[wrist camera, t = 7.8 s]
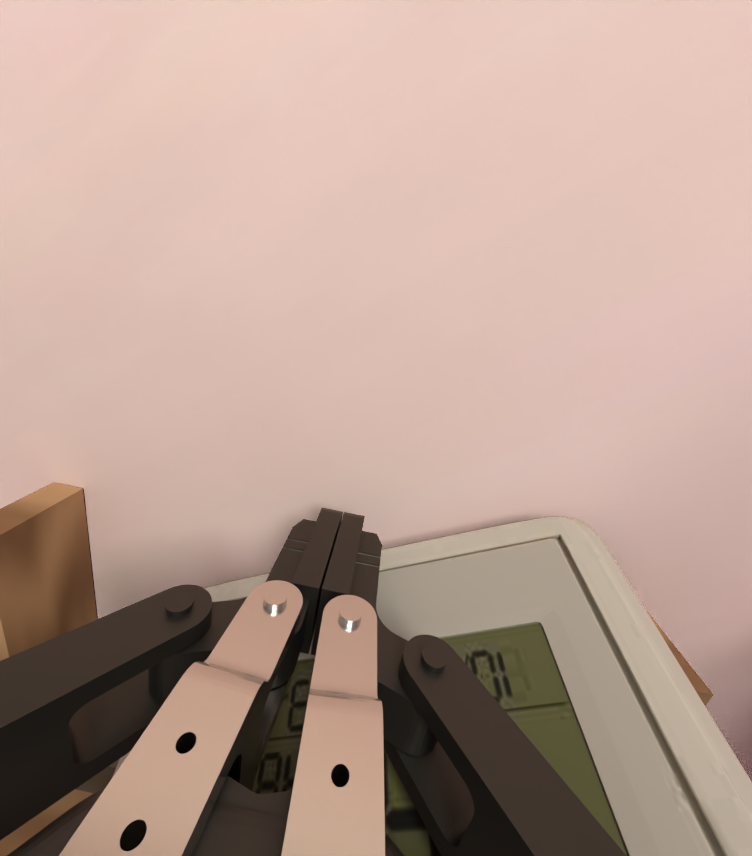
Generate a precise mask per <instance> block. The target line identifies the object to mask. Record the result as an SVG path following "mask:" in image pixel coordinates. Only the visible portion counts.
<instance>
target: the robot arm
mask: <svg viewBox="0 0 752 856" xmlns="http://www.w3.org/2000/svg"><path fill="white" fill-rule="evenodd" d="M342 515H343V512H341V511H336V510H331V509H326V508H322V509H321V512H320V514H319V516H318V519H317V521H316V522H315V521H310V520H305V519H303V520H302V521H301V522H299V523H298V524H297V525H295V526H294V527H293V528H292V530H291V532H290V534H289V536H288V539H287V540H286V542H285V544H284V547H283V548H282V550H281V552H280V554H279V556H278V558H277V560H276V562H275V564H274V566H273V568H272V570H271V572H270V574H269V576H268V578H267V580H266V582H265V583H262V584H260V585H258V586H257V587H255V588H254V589H253V590H252V591H251V593H250V594H249V595H248V597H245V598H243V599H238V600H232V601H218V602H212V598H211V595H210V593H209V592H208V591H207V590H205V589H204V588H202V587H200V586H196V585H181V586H176V587H173V588H170V589H168V590H165V591H163V592H161V593H158V594H156V595H154V596H151V597H149V598H147V599H144V600H142V601H140V602H137V603H135V604H133V605H130V606H128V607H126V608H123V609H121V610H119V611H116V612H114V613H112V614H109V615H107V616H104V617H102V618H100V619H97V620H95V621H93V622H90V623H88V624H86V625H83V626H81V627H79V628H76V629H74V630H72V631H69V632H67V633H65V634H62V635H60V636H58V637H55V638H53V639H51V640H48V641H46V642H44V643H41V644H39V645H37V646H34V647H32V648H30V649H27V650H25V651H23V652H20V653H18V654H16V655H13V656H11V657H9V658H6V659H4V660H2V661H0V840H2V839H3V838H5V837H6V836H8V835H9V834H10V833H12V832H13V831H15V830H16V829H18V828H19V827H21V826H22V825H24V824H25V823H27V822H28V821H29V820H31V819H32V818H34V817H35V816H37V815H38V814H40V813H41V812H43V811H44V810H45V809H47V808H48V807H50V806H51V805H53V804H54V803H56V802H57V801H59V800H60V799H62V798H63V797H64V796H66V795H67V794H69V793H70V792H72V791H73V790H75V789H76V788H78V787H79V786H80V785H82V784H83V783H85V782H86V781H88V780H89V779H91V778H92V777H94V776H95V775H97V774H98V773H99V772H101V771H102V770H104V769H105V768H107V767H108V766H110V765H111V764H113V763H114V762H115V761H117V760H118V759H120V758H121V757H123V756H124V755H126V754H127V753H129V752H130V753H129V754H128V756H127V757H126V759H125V760H124V762H123V763H122V765H121V766H120V768H119V769H118V770H117V772H116V773H115V775H114V776H113V778H112V779H111V781H110V782H109V784H108V785H107V786H106V788H104V789H102V790H100V791H98V792H96V793H94V794H92V795H91V796H89V797H87V798H86V799H84V800H82V801H81V802H79V803H78V804H76V805H75V806H73V807H72V808H70V809H69V810H68V811H66V812H65V813H63V814H62V815H61V816H59V817H58V818H57V819H55V820H54V821H53V822H51V823H50V824H49V825H47V826H46V827H45V828H43V829H42V830H41V831H39V832H38V833H37V834H35V835H34V836H33V837H31V838H30V839H28V840H27V841H26V842H24V843H23V844H22V845H20V846H19V847H18V848H16V849H15V850H14V851H12V852H11V853H10V854H8V855H7V856H404V855H403V854H402V852H401V851H400V849H399V848H398V847H397V845H396V844H395V843H394V842H393V841H392V840H391V839H390V838H389V837H388V836H387V834H385V808H384V749H385V751H386V753H387V755H388V757H389V759H390V761H391V763H392V765H393V767H394V768H395V770H396V772H397V774H398V776H399V778H400V780H401V782H402V783H403V785H404V787H405V789H406V791H407V793H408V795H409V797H410V798H411V800H412V802H413V804H414V806H415V808H416V810H417V812H418V813H419V815H420V817H421V819H422V821H423V823H424V825H425V827H426V829H427V830H428V832H429V834H430V836H431V838H432V840H433V842H434V844H435V845H436V847H437V849H438V851H439V853H440V855H441V856H626V854H625V853H624V852H623V851H622V850H621V848H620V847H619V846H618V845H617V844H616V843H615V841H614V840H613V839H612V838H611V837H610V835H609V834H608V833H607V832H606V831H605V829H604V828H603V827H602V826H601V825H600V823H599V822H598V821H597V820H596V819H595V817H594V816H593V815H592V814H591V813H590V812H589V810H588V809H587V808H586V807H585V806H584V804H583V803H582V802H581V801H580V800H579V798H578V797H577V796H576V795H575V794H574V792H573V791H572V790H571V789H570V788H569V787H568V785H567V784H566V783H565V782H564V781H563V779H562V778H561V777H560V776H559V775H558V773H557V772H556V771H555V770H554V769H553V767H552V766H551V765H550V764H549V763H548V761H547V760H546V759H545V758H544V757H543V756H542V754H541V753H540V752H539V751H538V750H537V748H536V747H535V746H534V745H533V744H532V742H531V741H530V740H529V739H528V738H527V736H526V735H525V734H524V733H523V732H522V730H521V729H520V728H519V727H518V726H517V725H516V723H515V722H514V721H513V720H512V719H511V717H510V716H509V715H508V714H507V713H506V711H505V710H504V709H503V708H502V707H501V705H500V704H499V703H498V702H497V701H496V700H495V698H494V697H493V696H492V695H491V694H490V692H489V691H488V690H487V689H486V688H485V686H484V685H483V684H482V683H481V682H480V680H479V679H478V678H477V677H476V676H475V674H474V673H473V672H472V671H471V670H470V669H469V667H468V666H467V665H466V664H465V663H464V661H463V660H462V659H461V658H460V657H459V655H458V654H457V653H456V652H455V651H454V649H453V648H452V647H451V646H450V645H449V644H447V643H446V642H445V641H443V640H442V639H440V638H438V637H435V636H432V635H417V636H415V637H413V638H411V639H410V640H409V641H407V640H406V639H404V638H402V637H400V636H398V635H396V634H395V633H393V632H391V631H390V630H389V629H388V628H387V627H386V626H385V625H384V624H383V623H382V621H381V620H380V618H379V616H378V614H377V609H376V601H377V590H378V580H379V569H380V568H379V567H380V557H381V548H382V544H381V542H380V540H379V538H378V536H377V534H374V533H369V532H365V531H362V527H363V522H364V516H361V515H356V514H351V513H346V512H344V515H343V518H342ZM341 521H342V522H341ZM313 635H314V638H313ZM312 639H313V644H312V650H311V655H316V656H315V662H314V667H313V673H312V678H311V684H310V690H309V695H308V701H307V707H306V713H305V719H304V724H303V730H302V736H301V742H300V747H299V753H298V759H297V765H296V771H295V776H294V782H293V788H292V791H284V792H276V793H269V794H257V793H254V792H252V789H253V785H254V781H255V777H256V774H257V770H258V767H259V764H260V761H261V758H262V756H263V753H264V750H265V748H266V745H267V743H268V740H269V737H270V735H271V732H272V730H273V727H274V724H275V722H276V719H277V716H278V714H279V711H280V709H281V706H282V703H283V701H284V698H285V696H286V693H287V690H288V688H289V685H290V682H291V678H292V674H293V672H294V670H295V667H296V664H297V661H298V657H299V654H300V652H301V653H305V654H308V653H309V650H310V646H311V642H312Z"/></svg>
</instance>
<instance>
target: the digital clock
mask: <svg viewBox="0 0 752 856" xmlns="http://www.w3.org/2000/svg"><path fill="white" fill-rule="evenodd" d="M379 568H380V569H379V580H378V590H377V601H376V609H377V614H378V616H379V618H380V620H381V621H382V623H383V624H384V625H385V626H386V627H387V628H388V629H389V630H390V631H391V632H393V633H395V634H396V635H398V636H400V637H402V638H404V639H406V640H407V641H409V640H410V639H411V638H413V637H415V636H417V635H432V636H435V637H438V638H440V639H442V640H443V641H445V642H446V643H447V644H449V645H450V646H451V647H452V648H453V649H454V651H455V652H456V653H457V654H458V655H459V657H460V658H461V659H462V660H463V661H464V663H465V664H466V665H467V666H468V667H469V669H470V670H471V671H472V672H473V673H474V674H475V676H476V677H477V678H478V679H479V680H480V682H481V683H482V684H483V685H484V686H485V688H486V689H487V690H488V691H489V692H490V694H491V695H492V696H493V697H494V698H495V700H496V701H497V702H498V703H499V704H500V705H501V707H502V708H503V709H504V710H505V711H506V713H507V714H508V715H509V716H510V717H511V719H512V720H513V721H514V722H515V723H516V725H517V726H518V727H519V728H520V729H521V730H522V732H523V733H524V734H525V735H526V736H527V738H528V739H529V740H530V741H531V742H532V744H533V745H534V746H535V747H536V748H537V750H538V751H539V752H540V753H541V754H542V756H543V757H544V758H545V759H546V760H547V761H548V763H549V764H550V765H551V766H552V767H553V769H554V770H555V771H556V772H557V773H558V775H559V776H560V777H561V778H562V779H563V781H564V782H565V783H566V784H567V785H568V787H569V788H570V789H571V790H572V791H573V792H574V794H575V795H576V796H577V797H578V798H579V800H580V801H581V802H582V803H583V804H584V806H585V807H586V808H587V809H588V810H589V812H590V813H591V814H592V815H593V816H594V817H595V819H596V820H597V821H598V822H599V823H600V825H601V826H602V827H603V828H604V829H605V831H606V832H607V833H608V834H609V835H610V837H611V838H612V839H613V840H614V841H615V843H616V844H617V845H618V846H619V847H620V848H621V850H622V851H623V852H624V853H625V854H626V856H752V781H751V780H750V778H749V777H748V775H747V773H746V772H745V770H744V768H743V767H742V765H741V764H740V762H739V760H738V759H737V757H736V755H735V754H734V752H733V751H732V749H731V747H730V746H729V744H728V743H727V741H726V739H725V738H724V736H723V734H722V733H721V731H720V730H719V728H718V726H717V725H716V723H715V721H714V720H713V718H712V717H711V715H710V713H709V712H708V710H707V708H706V707H705V705H704V704H703V702H702V700H701V699H700V697H699V695H698V694H697V692H696V691H695V689H694V687H693V686H692V684H691V682H690V681H689V679H688V678H687V676H686V674H685V673H684V671H683V670H682V668H681V666H680V665H679V663H678V661H677V660H676V658H675V657H674V655H673V653H672V652H671V650H670V648H669V647H668V645H667V644H666V642H665V640H664V639H663V637H662V635H661V634H660V632H659V631H658V629H657V627H656V626H655V624H654V622H653V621H652V619H651V618H650V616H649V614H648V613H647V611H646V610H645V608H644V606H643V605H642V603H641V601H640V600H639V598H638V597H637V595H636V593H635V592H634V590H633V588H632V587H631V585H630V584H629V582H628V580H627V579H626V577H625V575H624V574H623V572H622V571H621V569H620V567H619V566H618V564H617V562H616V561H615V559H614V558H613V556H612V554H611V553H610V551H609V550H608V548H607V547H606V545H605V544H604V542H603V541H602V539H601V538H600V537H599V536H598V534H597V533H596V532H595V531H594V530H593V529H592V528H591V527H590V526H589V525H588V524H586V523H584V522H582V521H581V520H577V519H573V518H568V517H544V518H537V519H531V520H526V521H520V522H515V523H510V524H505V525H500V526H495V527H489V528H484V529H479V530H474V531H469V532H464V533H459V534H455V535H450V536H445V537H440V538H435V539H431V540H426V541H421V542H416V543H411V544H407V545H402V546H397V547H392V548H387V549H383V550H381V557H380V567H379ZM269 574H270V573H268V574H264V575H259V576H254V577H250V578H245V579H240V580H236V581H231V582H227V583H223V584H219V585H215V586H211V587H207V588H204V589H205V590H207V591H208V592H209V593H210V595H211V598H212V602H218V601H232V600H238V599H243V598H245V597H248V595H249V594H250V593H251V591H252V590H253V589H254V588H255V587H257V586H258V585H260V584H262V583H265V582H266V580H267V578H268V576H269ZM313 638H314V635H313ZM312 644H313V639H312V642H311V646H310V650H309V653H308V654H305V653H301V652H300V654H299V657H298V661H297V664H296V667H295V670H294V672H293V674H292V678H291V682H290V685H289V688H288V690H287V693H286V696H285V698H284V701H283V703H282V706H281V709H280V711H279V714H278V716H277V719H276V722H275V724H274V727H273V730H272V732H271V735H270V737H269V740H268V743H267V745H266V748H265V750H264V753H263V756H262V758H261V761H260V764H259V767H258V770H257V774H256V777H255V781H254V785H253V789H252V792H254V793H257V794H269V793H276V792H284V791H292V788H293V782H294V776H295V771H296V765H297V759H298V753H299V747H300V742H301V736H302V730H303V724H304V719H305V713H306V707H307V701H308V695H309V690H310V684H311V678H312V673H313V667H314V662H315V656H316V655H311V650H312ZM129 753H130V752H129ZM129 753H127V754H126V755H124V756H123V757H121V758H120V759H119V762H118V764H117V767H116V769H115V772H114V774H113V776H114V775H115V773H116V772H117V770H118V769H119V768H120V766H121V765H122V763H123V762H124V760H125V759H126V757H127V756H128V754H129ZM112 778H113V777H112ZM384 808H385V834H387V836H388V837H389V838H390V839H391V840H392V841H393V842H394V843H395V844H396V845H397V847H398V848H399V849H400V851H401V852H402V854H403V855H404V856H441V855H440V853H439V851H438V849H437V847H436V845H435V844H434V842H433V840H432V838H431V836H430V834H429V832H428V830H427V829H426V827H425V825H424V823H423V821H422V819H421V817H420V815H419V813H418V812H417V810H416V808H415V806H414V804H413V802H412V800H411V798H410V797H409V795H408V793H407V791H406V789H405V787H404V785H403V783H402V782H401V780H400V778H399V776H398V774H397V772H396V770H395V768H394V767H393V765H392V763H391V761H390V759H389V757H388V755H387V753H386V751H385V749H384Z"/></svg>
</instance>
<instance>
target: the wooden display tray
mask: <svg viewBox="0 0 752 856" xmlns="http://www.w3.org/2000/svg"><path fill="white" fill-rule="evenodd" d="M647 613H648V612H647ZM648 614H649V613H648ZM649 616H650V615H649ZM650 618H651V619H652V621H653V622H654V624H655V626H656V627H657V629H658V631H659V632H660V634H661V635H662V637H663V639H664V640H665V642H666V644H667V645H668V647H669V648H670V650H671V652H672V653H673V655H674V657H675V658H676V660H677V661H678V663H679V665H680V666H681V668H682V670H683V671H684V673H685V674H686V676H687V678H688V679H689V681H690V682H691V684H692V686H693V687H694V689H695V691H696V692H697V694H698V695H699V697H700V699H701V700H702V702H703V704H704V705H706V704H707V703H708V701H709V700H710V699H711V697H712V696H713V694H712V692H711V691H710V690H709V689H708V687H707V686H706V685H705V684H704V682H703V681H702V680H701V679H700V677H699V676H698V675H697V674H696V672H695V671H694V670H693V669H692V667H691V666H690V665H689V664H688V662H687V661H686V660H685V658H684V657H683V656H682V655H681V653H680V652H679V651H678V650H677V648H676V647H675V646H674V645H673V643H672V642H671V641H670V640H669V638H668V637H667V636H666V635H665V633H664V632H663V631H662V630H661V628H660V627H659V626H658V625H657V623H656V622H655V621H654V620H653V618H652V617H651V616H650ZM95 620H97V614H96V605H95V595H94V586H93V577H92V568H91V559H90V549H89V540H88V531H87V522H86V512H85V503H84V494H83V488H78V487H73V486H68V485H63V484H58V483H51V484H49V485H47V486H45V487H43V488H41V489H39V490H37V491H35V492H33V493H31V494H29V495H27V496H25V497H23V498H21V499H19V500H17V501H15V502H13V503H11V504H9V505H7V506H5V507H3V508H1V509H0V661H2V660H4V659H6V658H9V657H11V656H13V655H16V654H18V653H20V652H23V651H25V650H27V649H30V648H32V647H34V646H37V645H39V644H41V643H44V642H46V641H48V640H51V639H53V638H55V637H58V636H60V635H62V634H65V633H67V632H69V631H72V630H74V629H76V628H79V627H81V626H83V625H86V624H88V623H90V622H93V621H95ZM118 762H119V759H118V760H117V761H115V762H114V763H113V764H111V765H110V766H108V767H107V768H105V769H104V770H102V771H101V772H99V773H98V774H97V775H95V776H94V777H92V778H91V779H89V780H88V781H86V782H85V783H83V784H82V785H80V786H79V787H78V788H76V789H75V790H73V791H72V792H70V793H69V794H67V795H66V796H64V797H63V798H62V799H60V800H59V801H57V802H56V803H54V804H53V805H51V806H50V807H48V808H47V809H45V810H44V811H43V812H41V813H40V814H38V815H37V816H35V817H34V818H32V819H31V820H29V821H28V822H27V823H25V824H24V825H22V826H21V827H19V828H18V829H16V830H15V831H13V832H12V833H10V834H9V835H8V836H6V837H5V838H3V839H2V840H0V856H7V855H8V854H10V853H11V852H12V851H14V850H15V849H16V848H18V847H19V846H20V845H22V844H23V843H24V842H26V841H27V840H28V839H30V838H31V837H33V836H34V835H35V834H37V833H38V832H39V831H41V830H42V829H43V828H45V827H46V826H47V825H49V824H50V823H51V822H53V821H54V820H55V819H57V818H58V817H59V816H61V815H62V814H63V813H65V812H66V811H68V810H69V809H70V808H72V807H73V806H75V805H76V804H78V803H79V802H81V801H82V800H84V799H86V798H87V797H89V796H91V795H92V794H94V793H96V792H98V791H100V790H102V789H104V788H106V786H107V785H108V784H109V782H110V781H111V779H112V777H113V774H114V772H115V769H116V767H117V764H118Z"/></svg>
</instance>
